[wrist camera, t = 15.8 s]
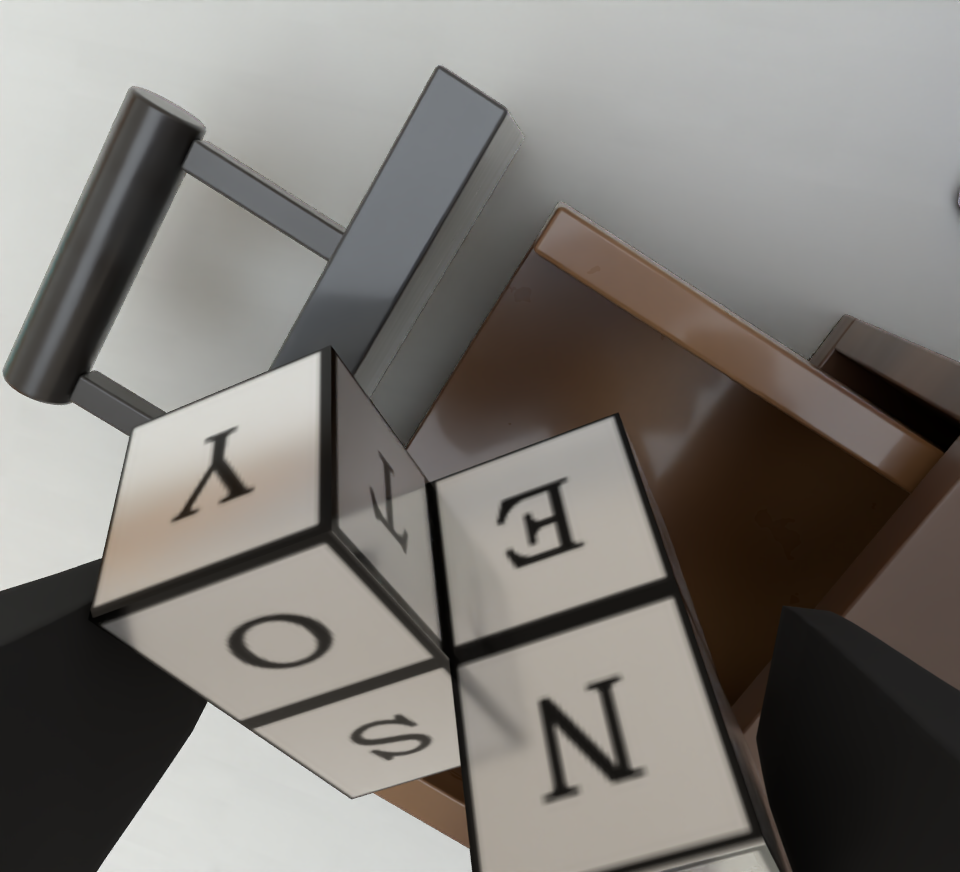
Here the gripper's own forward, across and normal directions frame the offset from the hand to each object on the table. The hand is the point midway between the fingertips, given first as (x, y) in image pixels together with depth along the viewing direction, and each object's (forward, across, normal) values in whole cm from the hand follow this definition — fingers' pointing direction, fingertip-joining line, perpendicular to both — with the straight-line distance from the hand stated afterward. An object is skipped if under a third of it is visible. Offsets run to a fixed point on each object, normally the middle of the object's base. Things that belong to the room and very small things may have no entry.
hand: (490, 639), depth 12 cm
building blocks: (+2, 0, +1) cm, 2 cm away
